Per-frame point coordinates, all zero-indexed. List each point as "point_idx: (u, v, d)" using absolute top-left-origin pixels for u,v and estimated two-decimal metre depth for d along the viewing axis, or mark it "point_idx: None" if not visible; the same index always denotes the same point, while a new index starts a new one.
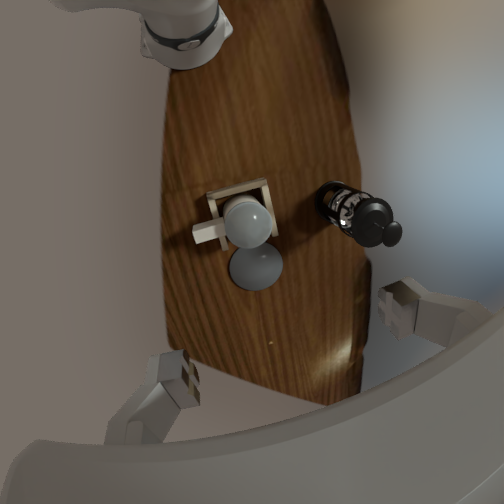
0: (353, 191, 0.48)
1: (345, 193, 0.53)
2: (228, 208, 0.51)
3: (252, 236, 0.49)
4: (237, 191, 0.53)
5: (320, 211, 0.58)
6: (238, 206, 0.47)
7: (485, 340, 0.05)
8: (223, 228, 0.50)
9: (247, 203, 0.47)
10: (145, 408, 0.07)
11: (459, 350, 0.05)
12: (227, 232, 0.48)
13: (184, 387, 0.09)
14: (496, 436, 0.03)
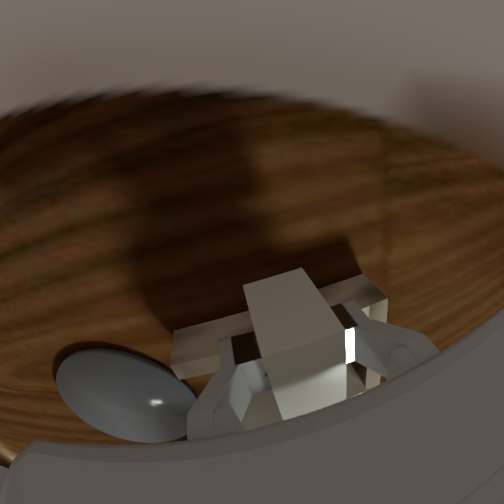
0: None
1: None
2: None
3: None
4: (370, 372, 0.16)
5: None
6: None
7: (485, 340, 0.05)
8: None
9: None
10: (227, 394, 0.08)
11: (459, 350, 0.05)
12: None
13: (263, 368, 0.09)
14: (496, 436, 0.03)
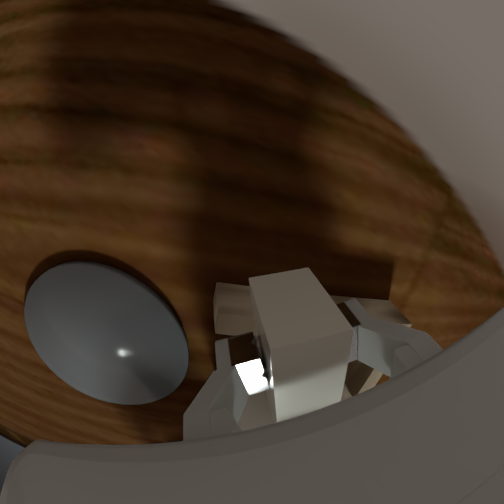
0: None
1: None
2: None
3: None
4: (363, 390, 0.17)
5: None
6: None
7: (485, 340, 0.05)
8: None
9: None
10: (223, 395, 0.08)
11: (459, 350, 0.05)
12: None
13: (260, 369, 0.09)
14: (496, 436, 0.03)
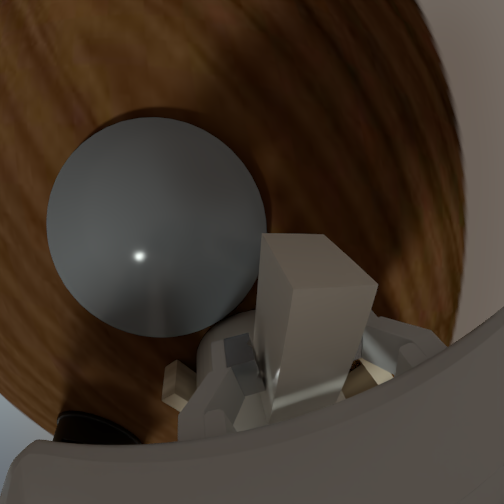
0: None
1: None
2: (344, 398, 0.11)
3: None
4: None
5: (110, 442, 0.17)
6: None
7: (485, 340, 0.05)
8: None
9: None
10: (218, 396, 0.08)
11: (459, 350, 0.05)
12: None
13: (255, 370, 0.09)
14: (496, 436, 0.03)
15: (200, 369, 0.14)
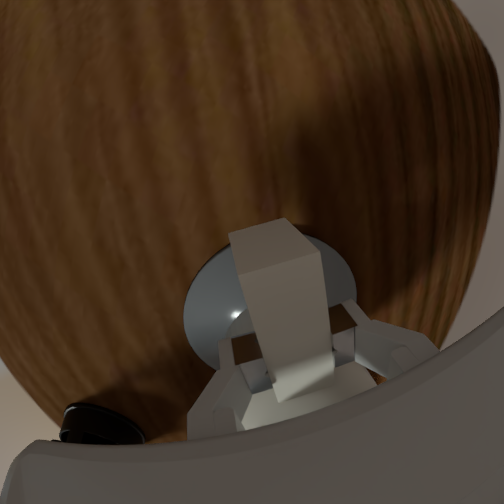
0: None
1: None
2: (357, 363, 0.12)
3: None
4: None
5: (130, 440, 0.20)
6: None
7: (485, 340, 0.05)
8: (310, 387, 0.10)
9: None
10: (227, 394, 0.08)
11: (459, 350, 0.05)
12: None
13: (263, 368, 0.09)
14: (496, 436, 0.03)
15: None
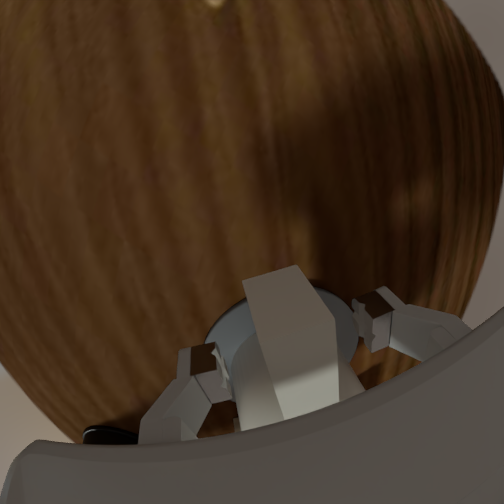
0: None
1: None
2: (359, 390, 0.13)
3: None
4: None
5: None
6: None
7: (485, 340, 0.05)
8: None
9: None
10: (180, 403, 0.07)
11: (459, 350, 0.05)
12: None
13: (219, 380, 0.09)
14: (496, 436, 0.03)
15: (235, 388, 0.16)
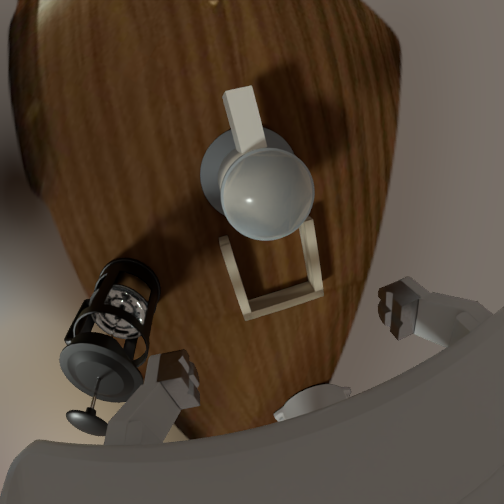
0: None
1: (129, 331, 0.33)
2: None
3: (247, 204, 0.24)
4: (284, 303, 0.39)
5: (151, 283, 0.35)
6: (308, 175, 0.24)
7: (485, 340, 0.05)
8: (255, 145, 0.24)
9: (312, 192, 0.24)
10: (145, 408, 0.07)
11: (459, 350, 0.05)
12: (258, 153, 0.22)
13: (184, 387, 0.09)
14: (496, 436, 0.03)
15: (218, 176, 0.30)
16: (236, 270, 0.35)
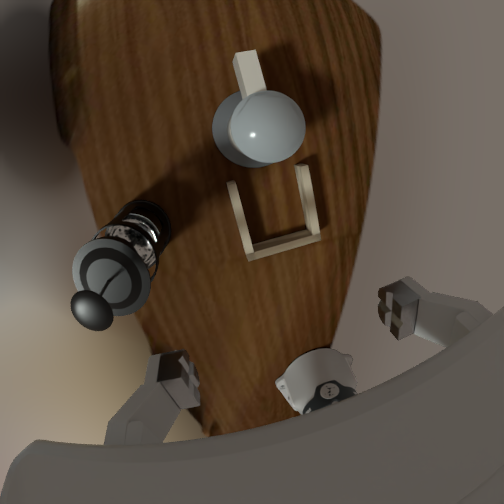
0: None
1: None
2: None
3: (252, 131, 0.28)
4: (284, 245, 0.42)
5: (164, 220, 0.39)
6: (300, 112, 0.28)
7: (485, 340, 0.05)
8: (258, 92, 0.28)
9: (303, 125, 0.29)
10: (145, 408, 0.07)
11: (459, 350, 0.05)
12: (260, 93, 0.27)
13: (184, 387, 0.09)
14: (496, 436, 0.03)
15: (228, 124, 0.34)
16: (241, 208, 0.39)
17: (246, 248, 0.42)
